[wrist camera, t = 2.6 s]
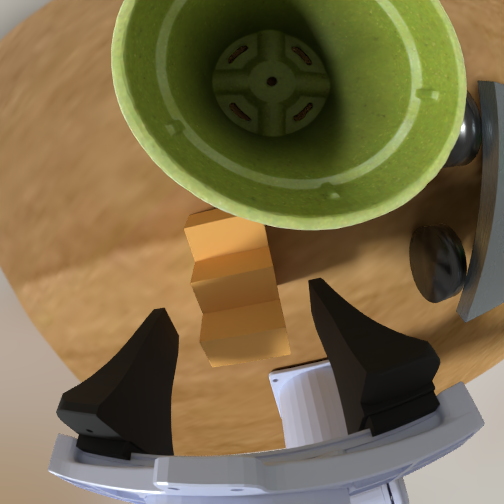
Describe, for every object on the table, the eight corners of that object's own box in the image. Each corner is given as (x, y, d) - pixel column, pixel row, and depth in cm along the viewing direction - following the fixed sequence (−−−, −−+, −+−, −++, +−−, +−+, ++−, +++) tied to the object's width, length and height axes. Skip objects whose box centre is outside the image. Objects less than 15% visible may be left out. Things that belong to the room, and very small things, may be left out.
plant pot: (263, -19, 9) (289, -114, 1) (385, 90, 12) (501, 93, 5) (146, 95, 12) (47, 86, 4) (278, 199, 15) (320, 293, 8)
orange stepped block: (275, 285, 18) (290, 354, 13) (216, 296, 18) (212, 366, 13) (258, 198, 15) (271, 248, 10) (189, 214, 15) (167, 270, 10)
